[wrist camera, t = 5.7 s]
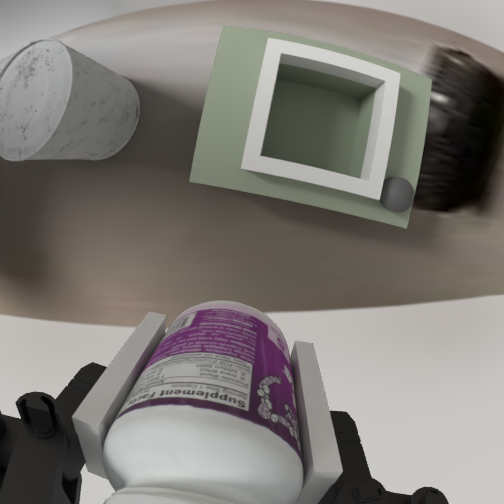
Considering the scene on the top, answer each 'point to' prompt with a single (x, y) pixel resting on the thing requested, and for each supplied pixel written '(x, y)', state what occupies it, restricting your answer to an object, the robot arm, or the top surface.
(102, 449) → the robot arm
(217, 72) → the green open box
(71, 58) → the speckled grey cylinder
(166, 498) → the pill bottle
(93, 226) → the top surface
